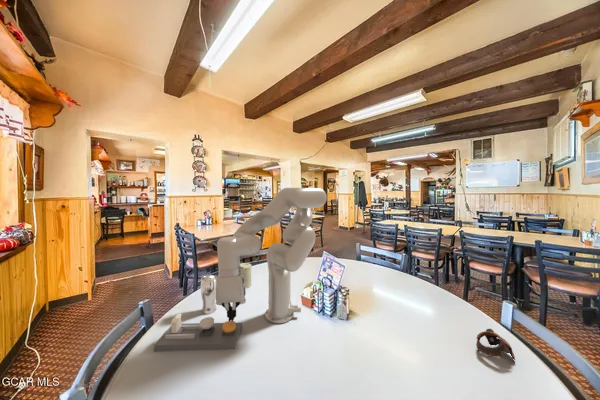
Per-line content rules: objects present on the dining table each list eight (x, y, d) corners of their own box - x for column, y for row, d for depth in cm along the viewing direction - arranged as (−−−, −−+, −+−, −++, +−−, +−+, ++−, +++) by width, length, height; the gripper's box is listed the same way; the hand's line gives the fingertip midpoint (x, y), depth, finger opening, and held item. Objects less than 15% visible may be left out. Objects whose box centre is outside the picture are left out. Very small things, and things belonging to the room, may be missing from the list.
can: (255, 284, 128) (255, 264, 128) (243, 290, 121) (242, 268, 120) (243, 280, 133) (243, 261, 133) (231, 286, 125) (231, 265, 125)
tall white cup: (211, 315, 96) (211, 281, 96) (197, 313, 98) (197, 280, 97) (220, 307, 103) (220, 275, 102) (207, 305, 105) (206, 274, 104)
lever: (184, 328, 84) (184, 312, 84) (177, 337, 79) (176, 320, 78) (176, 328, 84) (175, 312, 83) (168, 337, 78) (168, 320, 78)
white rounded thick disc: (215, 323, 84) (215, 317, 84) (211, 331, 79) (211, 324, 79) (203, 324, 84) (202, 317, 84) (197, 332, 79) (197, 325, 79)
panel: (242, 327, 88) (242, 319, 88) (234, 348, 76) (234, 339, 76) (172, 328, 87) (172, 320, 87) (154, 350, 75) (153, 341, 75)
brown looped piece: (524, 371, 68) (512, 350, 68) (487, 373, 73) (476, 352, 72) (507, 339, 79) (496, 319, 78) (476, 341, 83) (466, 323, 83)
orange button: (237, 327, 85) (237, 320, 84) (234, 335, 80) (234, 328, 80) (224, 327, 84) (224, 320, 84) (220, 335, 80) (220, 328, 79)
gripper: (251, 266, 85) (253, 311, 87) (212, 267, 85) (215, 313, 86) (248, 274, 78) (250, 323, 79) (204, 276, 77) (207, 326, 78)
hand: (231, 318), depth 83 cm, fingers closed
